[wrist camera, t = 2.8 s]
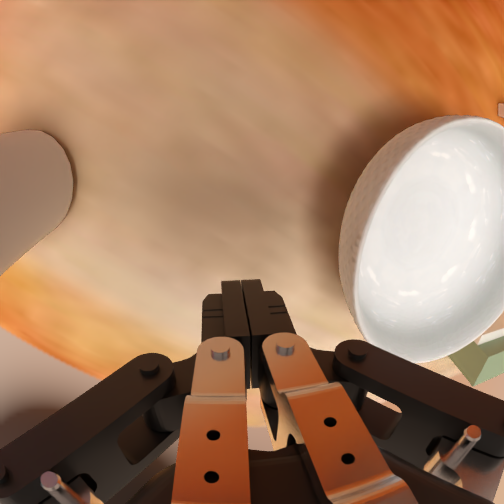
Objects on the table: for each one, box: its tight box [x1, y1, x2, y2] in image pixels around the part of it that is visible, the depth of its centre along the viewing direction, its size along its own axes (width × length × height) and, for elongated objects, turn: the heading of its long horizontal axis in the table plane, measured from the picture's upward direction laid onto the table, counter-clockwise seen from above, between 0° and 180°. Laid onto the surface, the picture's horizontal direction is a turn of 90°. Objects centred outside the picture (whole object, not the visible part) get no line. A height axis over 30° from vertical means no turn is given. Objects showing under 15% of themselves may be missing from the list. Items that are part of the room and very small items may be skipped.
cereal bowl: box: [338, 115, 504, 363], centre depth 19 cm, size 17×17×7 cm
